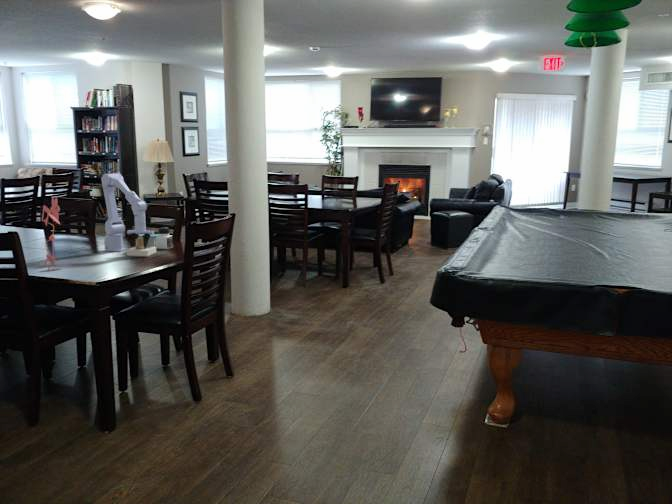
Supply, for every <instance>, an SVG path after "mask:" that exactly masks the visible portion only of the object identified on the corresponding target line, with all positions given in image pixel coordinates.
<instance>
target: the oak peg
mask: <svg viewBox="0 0 672 504" xmlns="http://www.w3.org/2000/svg"><path fill="white" fill-rule="evenodd" d="M136 249H146V248H144V239H143V238H137V239H136Z"/></svg>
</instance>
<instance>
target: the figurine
mask: <svg viewBox="0 0 672 504" xmlns="http://www.w3.org/2000/svg"><path fill="white" fill-rule="evenodd" d="M60 211H61V208H60V206H59V205H58V198H57V197H55V198H54V196H52V197H51V206H50V208H48V206H46V205H43V206H42V215H41V222H44V224H45V226H46V227H47V226H48V224H49V225H51V227H52V228H53V229H52V234H51V235H50V236H49V237H48V240H46V241H45V242H44V243H45V248H46V251H47V254H46V255H45V256H46V259H45V261H44V264H43V267H45V266H46V265H47V262H48V261H49V262H50V264H49V266H48V268H47V270H49V271H50V269H51V267H52V265H55V263H56V264H57V265H58V267H60V268H61V269H63V267H62V266H61V264H60V263H58V262H57V261H56V259H55V253H54V252H55V251H54V250H55V249H54V248H52V256H51V255H50V253H49V249H48V246H47V243H48V242H50V241H51V242H52V245H51V247H54V244H55V243H54V242H55V241H56V236H55V235H54V234H55V225H54V224H53V223H51V222H49V218H51V219H52V222H54V223H55V222H56V224H58V225H61V223H60V221H59V213H60ZM45 213H46V214H47V215H46V218H45V219H44V214H45ZM63 263H65V264H73V265H75V266H77V264H76V263H73V262H70V261H69V262H67V261H64V262H63Z"/></svg>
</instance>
